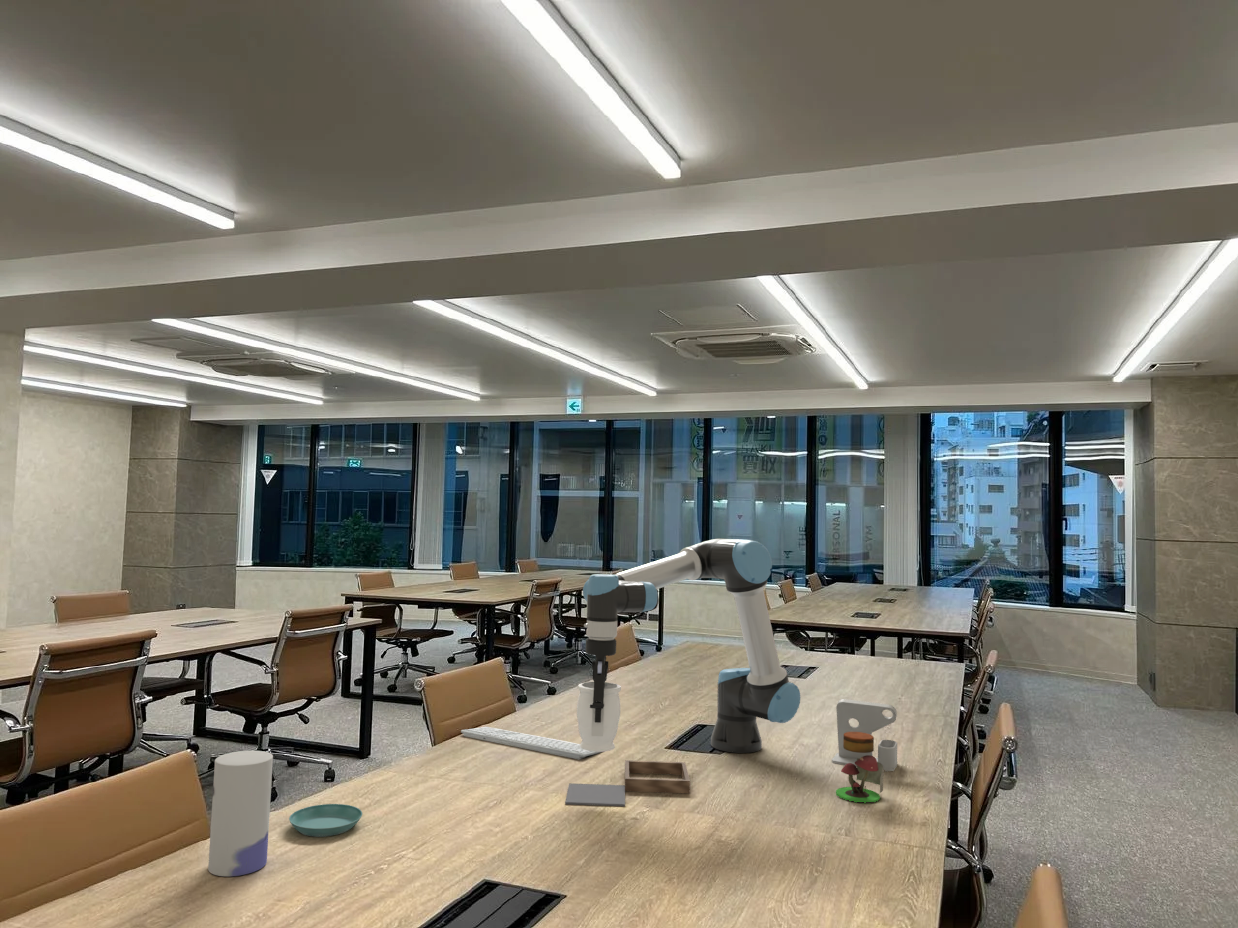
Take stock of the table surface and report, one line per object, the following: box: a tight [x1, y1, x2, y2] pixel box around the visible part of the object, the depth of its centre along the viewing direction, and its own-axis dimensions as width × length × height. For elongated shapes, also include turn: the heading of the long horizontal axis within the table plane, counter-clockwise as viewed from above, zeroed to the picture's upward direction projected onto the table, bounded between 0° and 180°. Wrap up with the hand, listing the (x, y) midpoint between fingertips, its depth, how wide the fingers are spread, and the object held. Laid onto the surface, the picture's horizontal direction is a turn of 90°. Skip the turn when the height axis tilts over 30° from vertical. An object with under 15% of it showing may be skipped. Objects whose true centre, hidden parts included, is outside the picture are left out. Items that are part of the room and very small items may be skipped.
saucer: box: [288, 803, 363, 838], centre depth 178 cm, size 15×15×3 cm
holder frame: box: [624, 759, 691, 794], centre depth 215 cm, size 16×16×3 cm
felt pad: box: [564, 783, 626, 807], centre depth 203 cm, size 14×14×1 cm
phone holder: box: [831, 698, 898, 772], centre depth 239 cm, size 17×10×18 cm, turn 65°
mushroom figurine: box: [835, 732, 885, 804], centre depth 209 cm, size 12×13×15 cm
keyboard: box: [460, 726, 601, 760], centre depth 248 cm, size 44×12×2 cm, turn 60°
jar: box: [576, 681, 622, 753], centre depth 204 cm, size 11×10×15 cm
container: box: [207, 750, 274, 877], centre depth 157 cm, size 10×10×20 cm
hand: (597, 729), depth 204 cm, fingers closed on jar, 10 cm apart
